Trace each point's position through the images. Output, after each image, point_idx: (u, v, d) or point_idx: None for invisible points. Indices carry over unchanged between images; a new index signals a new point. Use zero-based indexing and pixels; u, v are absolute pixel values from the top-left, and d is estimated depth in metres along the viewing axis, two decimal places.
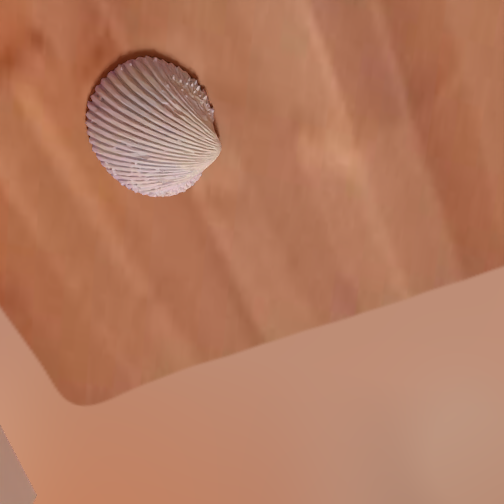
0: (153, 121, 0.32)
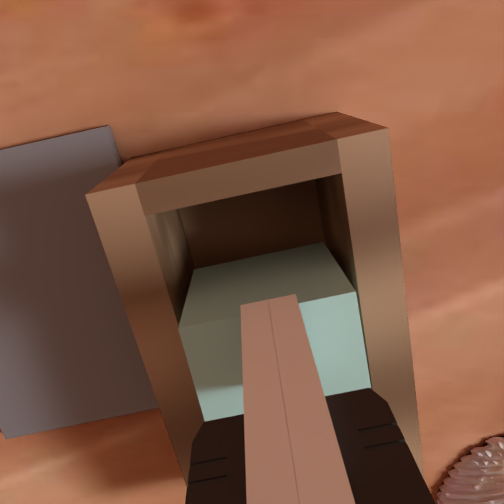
0: None
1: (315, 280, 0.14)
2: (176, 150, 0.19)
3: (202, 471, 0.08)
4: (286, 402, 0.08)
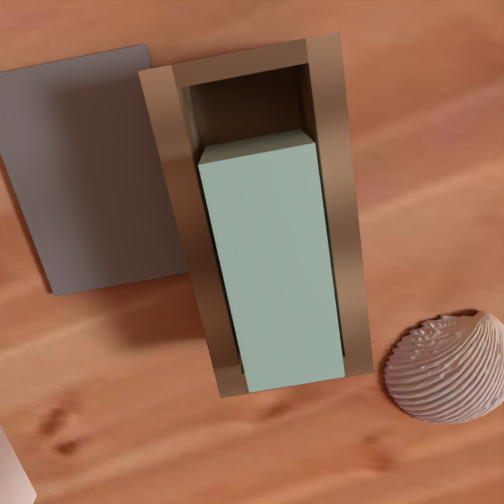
0: (461, 390, 0.32)
1: (290, 142, 0.21)
2: None
3: None
4: None
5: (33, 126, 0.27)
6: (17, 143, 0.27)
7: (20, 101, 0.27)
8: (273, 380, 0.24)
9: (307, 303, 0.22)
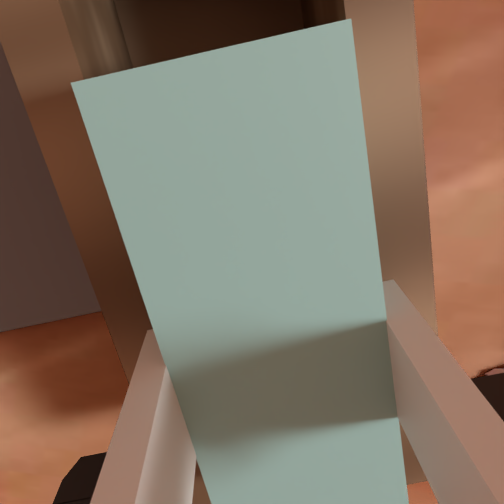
0: None
1: None
2: None
3: None
4: (150, 441, 0.08)
5: None
6: None
7: None
8: None
9: (335, 382, 0.11)
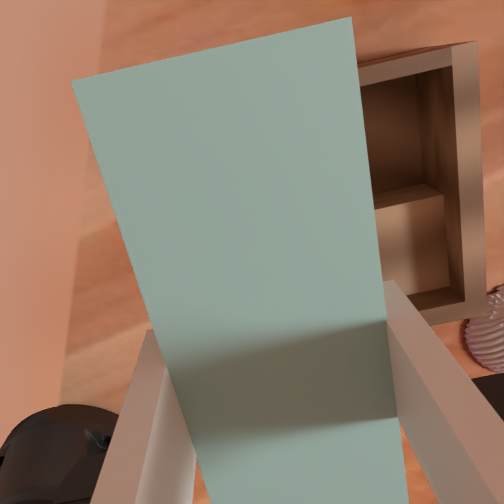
0: None
1: None
2: None
3: None
4: (150, 441, 0.08)
5: None
6: None
7: None
8: None
9: (335, 381, 0.11)
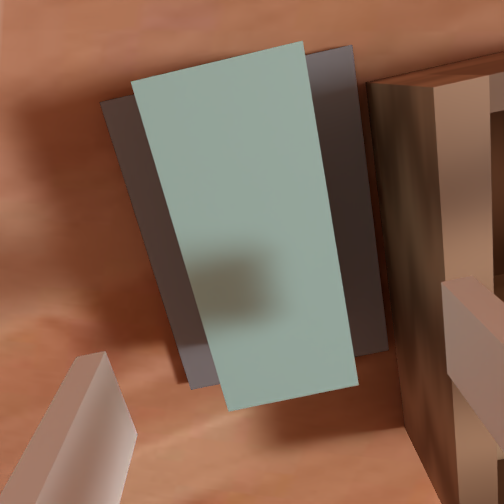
0: None
1: None
2: (426, 70, 0.18)
3: None
4: (44, 489, 0.08)
5: None
6: (157, 191, 0.19)
7: None
8: (260, 393, 0.17)
9: (302, 284, 0.16)
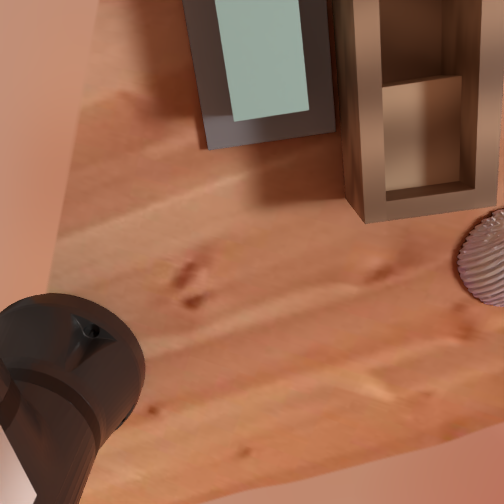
0: None
1: None
2: None
3: None
4: None
5: None
6: (200, 3, 0.32)
7: None
8: (253, 110, 0.30)
9: (280, 37, 0.29)
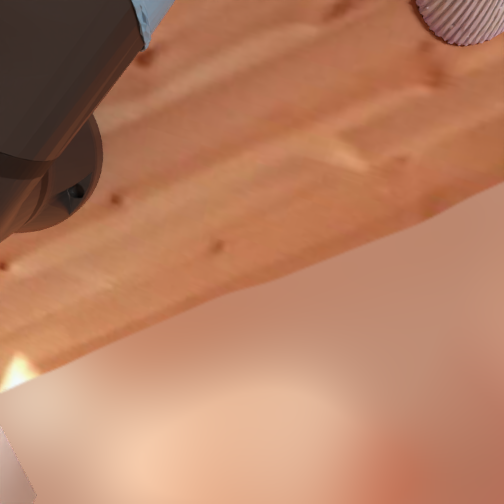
0: None
1: None
2: None
3: None
4: None
5: None
6: None
7: None
8: None
9: None
